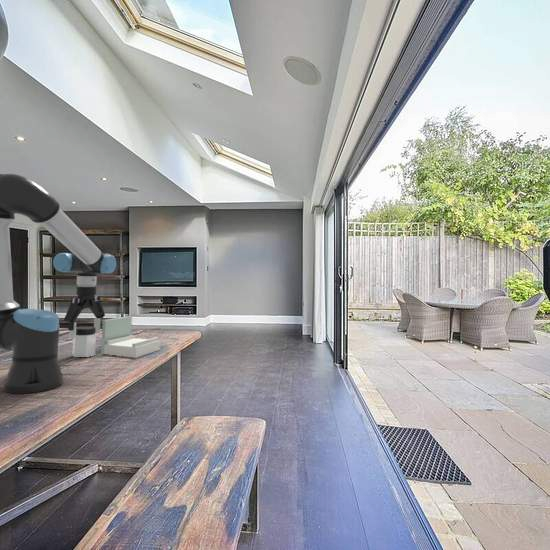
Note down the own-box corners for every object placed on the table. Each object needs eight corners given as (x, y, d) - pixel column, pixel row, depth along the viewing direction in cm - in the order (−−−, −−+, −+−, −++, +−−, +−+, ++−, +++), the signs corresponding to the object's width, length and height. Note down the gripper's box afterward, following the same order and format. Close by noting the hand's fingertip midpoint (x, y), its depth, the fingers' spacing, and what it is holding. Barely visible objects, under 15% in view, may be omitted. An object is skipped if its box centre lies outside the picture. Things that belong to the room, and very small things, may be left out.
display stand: (135, 357, 148) (137, 322, 148) (101, 354, 152) (102, 320, 153) (159, 349, 166) (160, 318, 166) (127, 346, 170) (129, 316, 170)
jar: (96, 356, 148) (97, 328, 148) (74, 359, 143) (76, 329, 143) (92, 352, 155) (93, 325, 155) (71, 354, 149) (72, 327, 150)
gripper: (70, 287, 136) (68, 341, 136) (114, 285, 160) (112, 331, 160) (54, 286, 138) (53, 339, 138) (100, 285, 162) (99, 330, 162)
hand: (85, 335), depth 149 cm, fingers open, 13 cm apart
